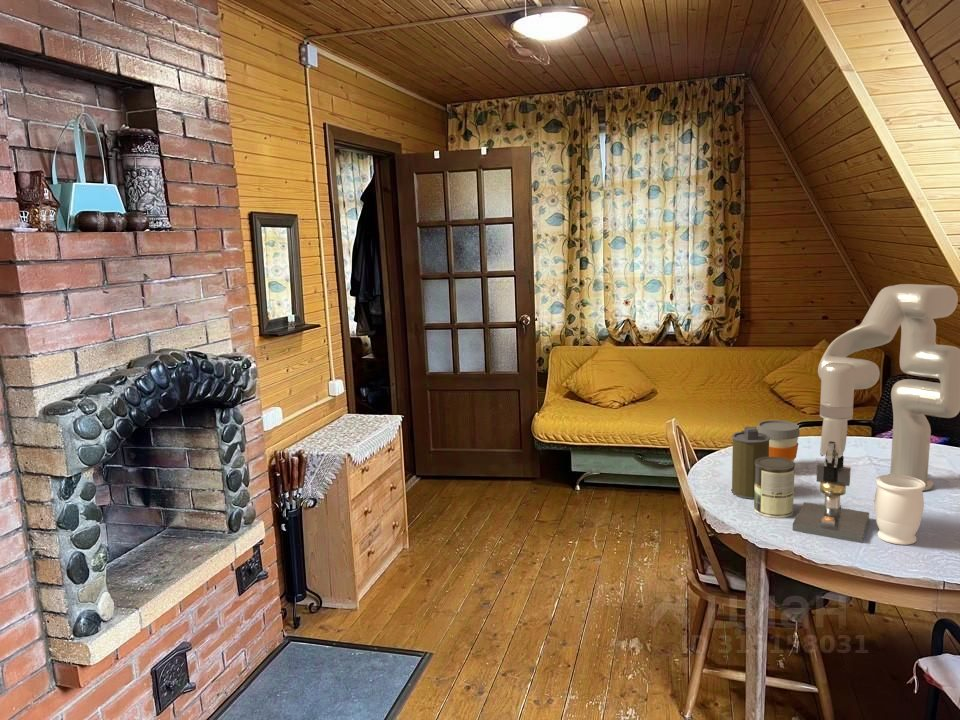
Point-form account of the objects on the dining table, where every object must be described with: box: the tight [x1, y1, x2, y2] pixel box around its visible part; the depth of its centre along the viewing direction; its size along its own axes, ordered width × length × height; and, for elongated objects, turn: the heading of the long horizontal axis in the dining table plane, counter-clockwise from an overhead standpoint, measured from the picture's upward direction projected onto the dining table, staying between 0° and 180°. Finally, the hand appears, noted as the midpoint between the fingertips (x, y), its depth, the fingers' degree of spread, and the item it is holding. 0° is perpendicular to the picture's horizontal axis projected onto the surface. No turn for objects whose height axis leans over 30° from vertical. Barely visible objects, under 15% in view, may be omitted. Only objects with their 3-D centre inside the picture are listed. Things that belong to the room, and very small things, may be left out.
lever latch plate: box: [792, 494, 870, 544], centre depth 188 cm, size 16×16×9 cm
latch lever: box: [816, 463, 852, 497], centre depth 187 cm, size 9×8×7 cm
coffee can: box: [753, 457, 796, 519], centre depth 199 cm, size 10×10×14 cm
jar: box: [873, 474, 925, 546], centre depth 179 cm, size 11×10×15 cm
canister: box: [730, 425, 770, 500], centre depth 212 cm, size 11×10×20 cm
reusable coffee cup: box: [756, 419, 800, 463], centre depth 230 cm, size 13×13×15 cm
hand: (833, 475), depth 187 cm, fingers open, 9 cm apart
